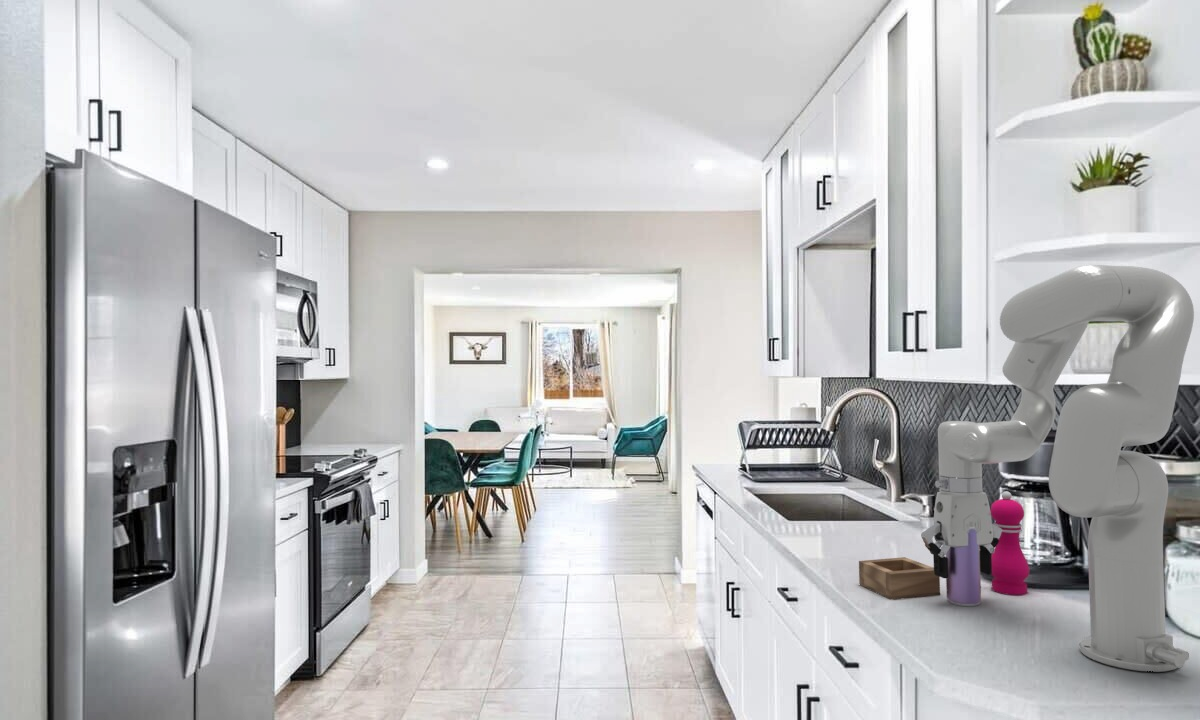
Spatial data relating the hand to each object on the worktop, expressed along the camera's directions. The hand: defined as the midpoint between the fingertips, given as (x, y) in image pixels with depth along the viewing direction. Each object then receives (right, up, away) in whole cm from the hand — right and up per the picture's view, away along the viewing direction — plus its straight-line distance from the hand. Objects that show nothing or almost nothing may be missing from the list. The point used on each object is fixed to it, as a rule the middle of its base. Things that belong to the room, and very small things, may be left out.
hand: (963, 574), depth 146 cm
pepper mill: (+13, -6, +7) cm, 16 cm away
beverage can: (0, -6, 0) cm, 6 cm away
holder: (-9, -6, +9) cm, 14 cm away
